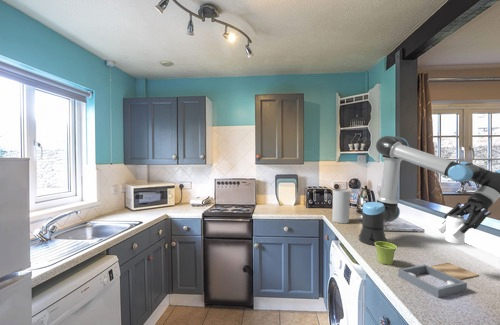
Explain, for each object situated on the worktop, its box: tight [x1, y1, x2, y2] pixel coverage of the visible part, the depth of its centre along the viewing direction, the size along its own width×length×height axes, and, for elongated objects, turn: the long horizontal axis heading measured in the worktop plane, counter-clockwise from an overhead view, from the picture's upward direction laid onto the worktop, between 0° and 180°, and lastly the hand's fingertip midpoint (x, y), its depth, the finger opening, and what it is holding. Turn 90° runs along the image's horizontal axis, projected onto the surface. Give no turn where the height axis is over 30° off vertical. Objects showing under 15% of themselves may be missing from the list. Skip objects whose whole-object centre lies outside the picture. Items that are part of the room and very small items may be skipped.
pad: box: [430, 262, 480, 281], centre depth 106 cm, size 12×12×1 cm
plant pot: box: [375, 241, 398, 266], centre depth 114 cm, size 9×9×9 cm
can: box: [444, 215, 466, 246], centre depth 105 cm, size 6×6×12 cm
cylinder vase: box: [331, 188, 351, 224], centre depth 185 cm, size 12×12×25 cm
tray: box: [397, 264, 468, 298], centre depth 95 cm, size 16×16×3 cm
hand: (447, 233), depth 105 cm, fingers closed on can, 6 cm apart
